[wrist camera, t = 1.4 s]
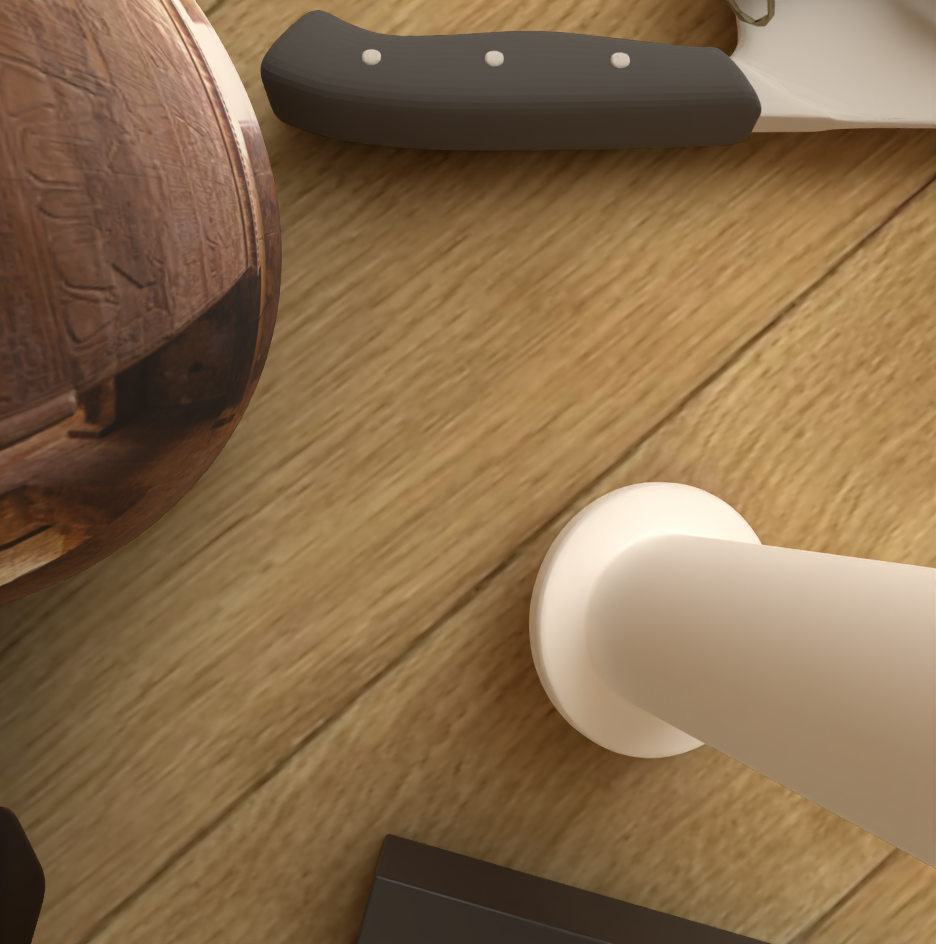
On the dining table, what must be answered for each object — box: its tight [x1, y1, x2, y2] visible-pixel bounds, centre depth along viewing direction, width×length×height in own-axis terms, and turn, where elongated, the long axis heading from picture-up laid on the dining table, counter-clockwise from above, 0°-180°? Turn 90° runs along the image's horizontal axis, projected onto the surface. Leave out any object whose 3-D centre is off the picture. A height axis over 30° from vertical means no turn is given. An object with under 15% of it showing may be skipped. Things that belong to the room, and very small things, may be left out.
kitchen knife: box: [261, 0, 936, 151], centre depth 21 cm, size 29×3×5 cm
